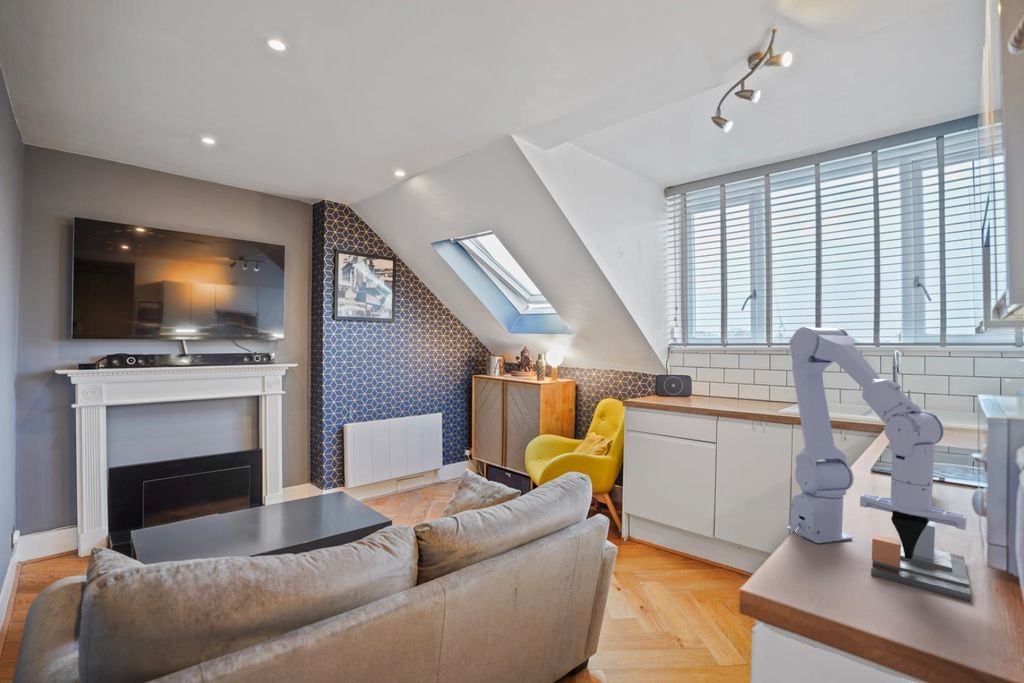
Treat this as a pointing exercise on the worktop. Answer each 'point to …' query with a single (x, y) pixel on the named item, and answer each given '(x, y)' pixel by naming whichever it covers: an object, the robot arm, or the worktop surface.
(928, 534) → the housing block
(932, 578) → the base
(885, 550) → the lever
